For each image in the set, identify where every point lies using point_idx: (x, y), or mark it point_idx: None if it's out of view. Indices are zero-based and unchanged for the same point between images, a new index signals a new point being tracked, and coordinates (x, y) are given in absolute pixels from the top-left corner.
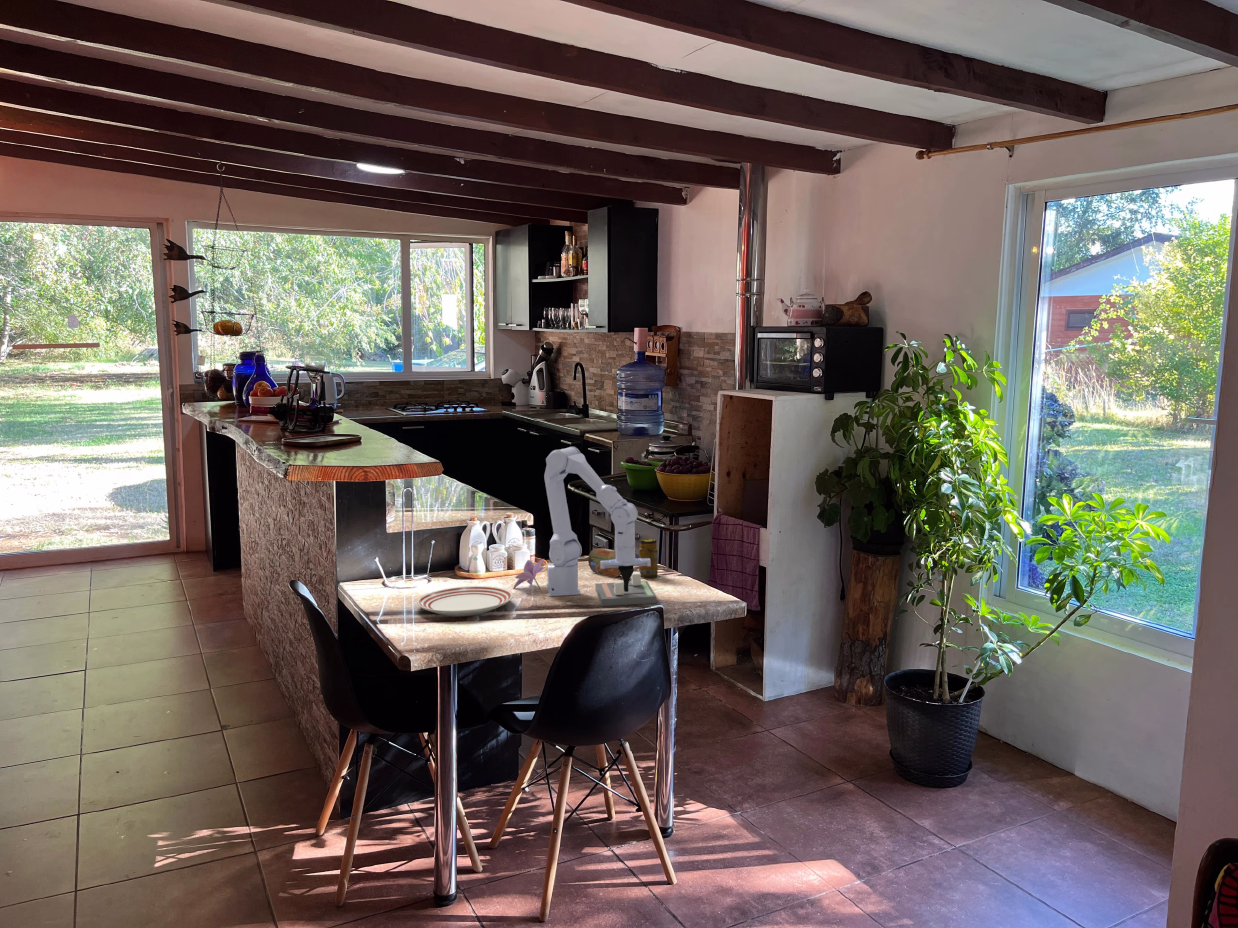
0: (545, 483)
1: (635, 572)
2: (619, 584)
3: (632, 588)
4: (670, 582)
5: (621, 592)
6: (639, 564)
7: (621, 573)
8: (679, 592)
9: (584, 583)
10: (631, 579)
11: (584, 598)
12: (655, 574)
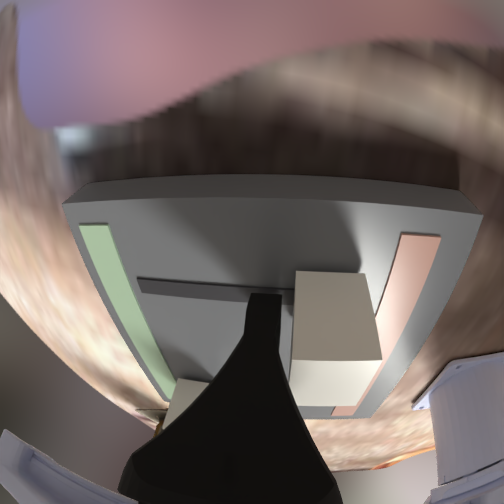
0: None
1: None
2: (337, 347)
3: (219, 363)
4: (113, 384)
5: (315, 284)
6: (82, 492)
7: (321, 471)
8: (53, 307)
9: (370, 426)
10: None
11: (462, 325)
12: (160, 423)
